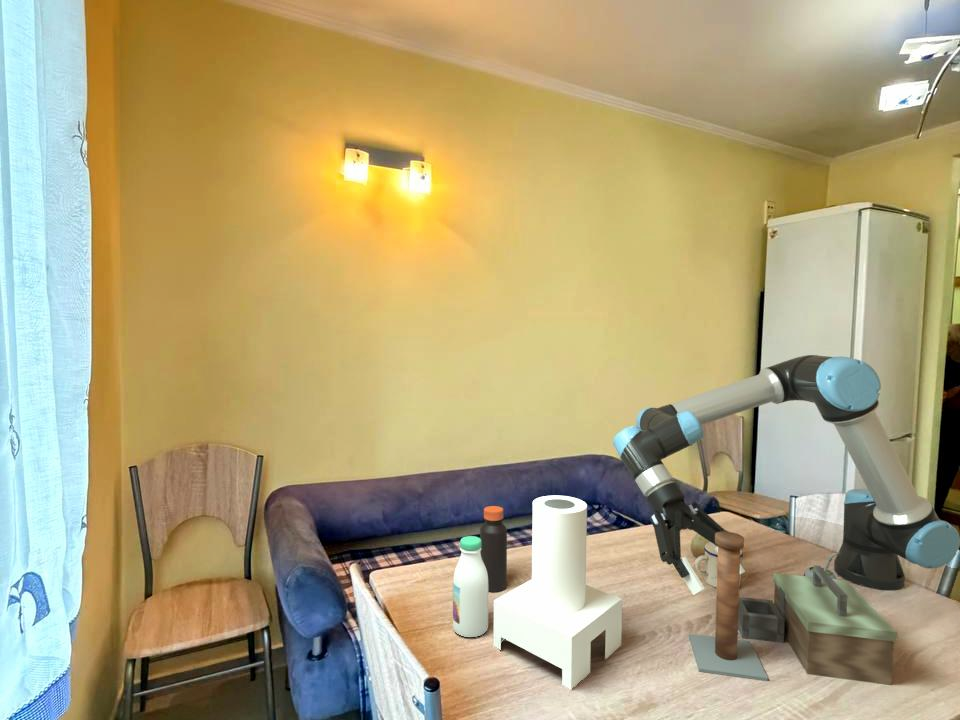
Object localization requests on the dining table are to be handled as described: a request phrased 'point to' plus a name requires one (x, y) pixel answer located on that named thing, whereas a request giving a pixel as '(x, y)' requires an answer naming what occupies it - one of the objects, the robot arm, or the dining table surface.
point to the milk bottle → (470, 590)
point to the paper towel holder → (559, 595)
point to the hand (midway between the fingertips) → (720, 583)
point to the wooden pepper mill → (727, 593)
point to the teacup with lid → (711, 564)
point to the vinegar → (494, 548)
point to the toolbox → (823, 627)
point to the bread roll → (699, 545)
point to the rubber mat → (740, 667)
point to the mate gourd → (810, 570)
